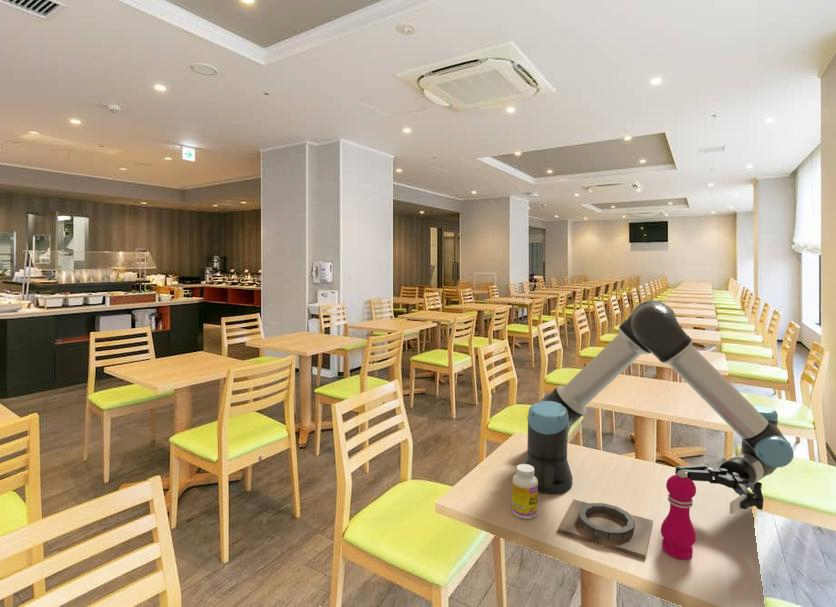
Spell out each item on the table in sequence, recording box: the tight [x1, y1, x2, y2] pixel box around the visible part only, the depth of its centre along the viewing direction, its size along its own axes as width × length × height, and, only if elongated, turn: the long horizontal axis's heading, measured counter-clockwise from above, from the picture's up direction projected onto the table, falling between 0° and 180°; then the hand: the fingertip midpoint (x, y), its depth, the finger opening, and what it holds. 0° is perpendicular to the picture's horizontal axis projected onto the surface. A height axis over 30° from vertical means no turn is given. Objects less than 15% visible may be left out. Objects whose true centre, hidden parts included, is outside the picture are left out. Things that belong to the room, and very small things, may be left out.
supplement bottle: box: [511, 463, 538, 520], centre depth 126 cm, size 7×7×13 cm
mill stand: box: [557, 498, 654, 560], centre depth 119 cm, size 20×16×3 cm
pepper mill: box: [660, 470, 697, 560], centre depth 109 cm, size 7×7×20 cm
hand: (700, 495), depth 114 cm, fingers open, 13 cm apart
